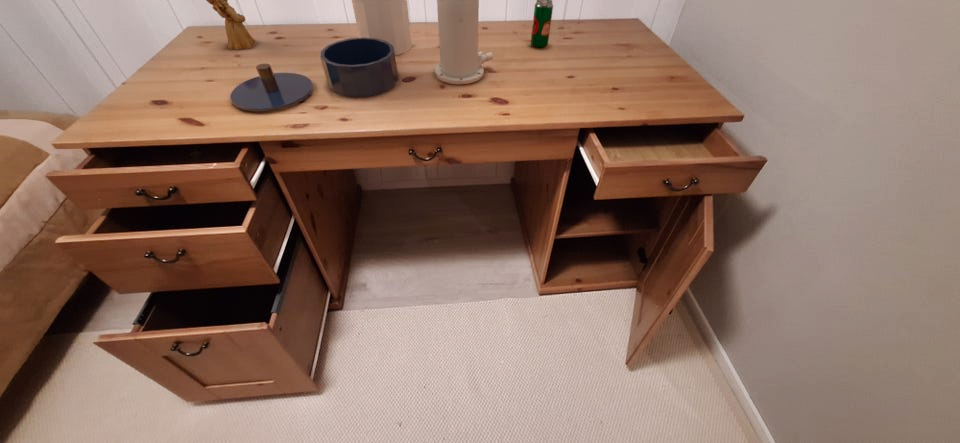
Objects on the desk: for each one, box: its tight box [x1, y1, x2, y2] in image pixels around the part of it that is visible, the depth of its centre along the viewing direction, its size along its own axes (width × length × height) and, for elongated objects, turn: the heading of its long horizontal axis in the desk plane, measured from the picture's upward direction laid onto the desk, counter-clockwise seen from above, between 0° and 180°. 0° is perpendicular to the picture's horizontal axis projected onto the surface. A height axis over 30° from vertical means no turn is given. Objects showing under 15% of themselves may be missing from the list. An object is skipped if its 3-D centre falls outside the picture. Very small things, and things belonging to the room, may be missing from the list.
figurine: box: [205, 0, 257, 51], centre depth 103 cm, size 8×8×15 cm
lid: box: [230, 62, 314, 112], centre depth 87 cm, size 18×18×7 cm
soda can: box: [530, 0, 554, 49], centre depth 107 cm, size 5×5×12 cm
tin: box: [319, 37, 399, 99], centre depth 91 cm, size 17×17×8 cm
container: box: [351, 0, 413, 56], centre depth 103 cm, size 14×14×18 cm
